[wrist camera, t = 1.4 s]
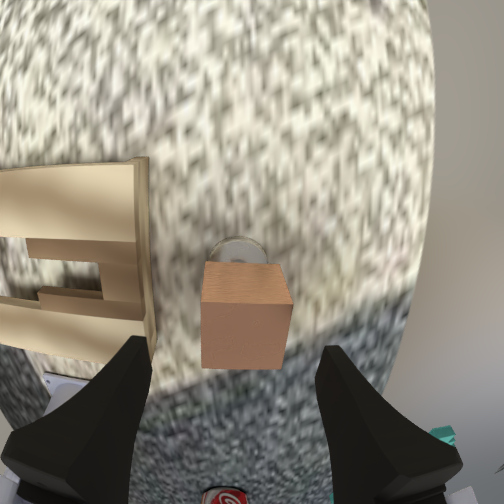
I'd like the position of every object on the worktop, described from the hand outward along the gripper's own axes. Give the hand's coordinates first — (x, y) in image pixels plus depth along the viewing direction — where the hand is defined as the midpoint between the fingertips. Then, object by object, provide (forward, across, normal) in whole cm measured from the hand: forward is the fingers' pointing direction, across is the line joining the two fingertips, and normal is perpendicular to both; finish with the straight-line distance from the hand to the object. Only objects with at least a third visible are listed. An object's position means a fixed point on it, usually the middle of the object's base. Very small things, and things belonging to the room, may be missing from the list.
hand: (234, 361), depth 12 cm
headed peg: (+10, 0, +1) cm, 10 cm away
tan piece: (+9, +13, +1) cm, 16 cm away
